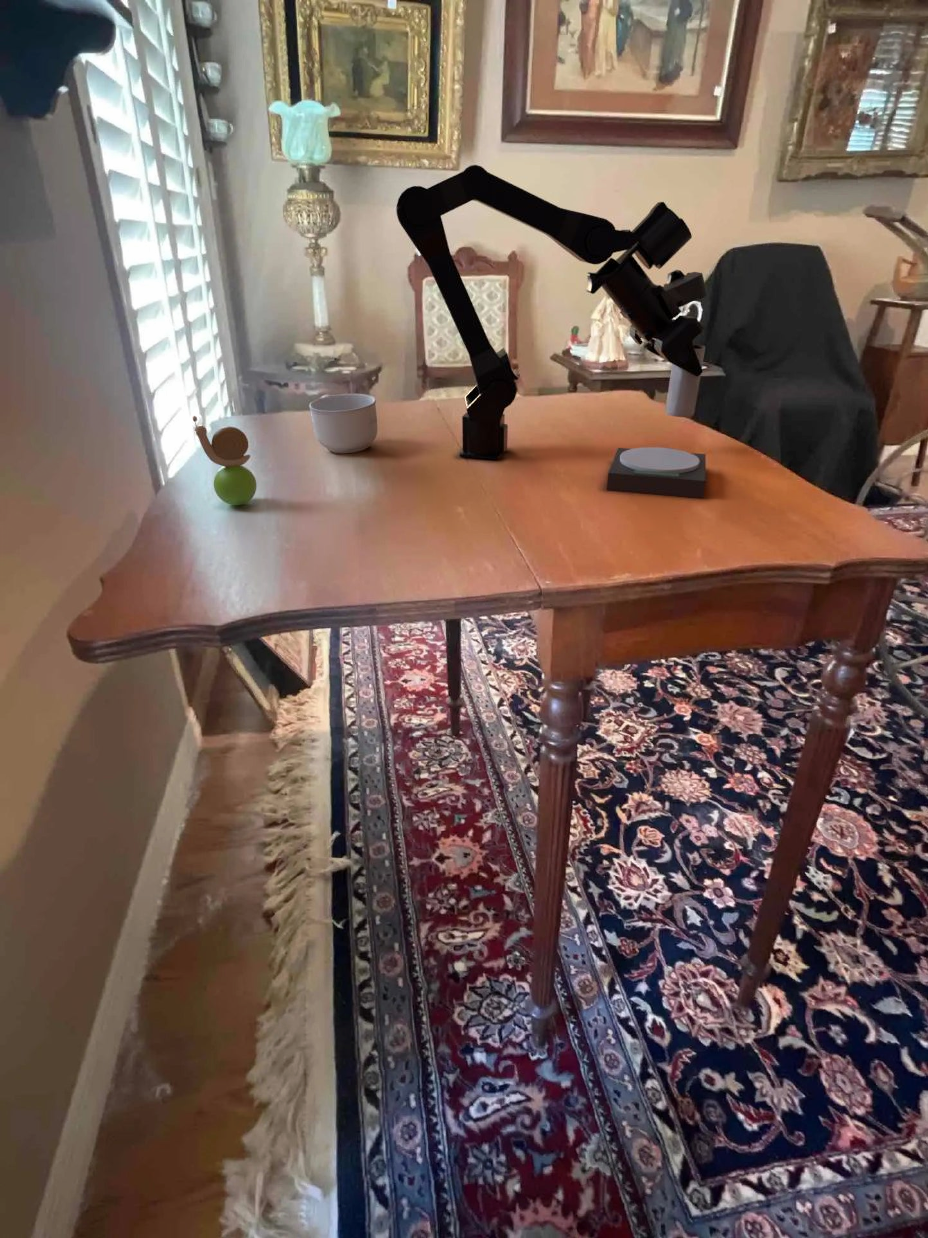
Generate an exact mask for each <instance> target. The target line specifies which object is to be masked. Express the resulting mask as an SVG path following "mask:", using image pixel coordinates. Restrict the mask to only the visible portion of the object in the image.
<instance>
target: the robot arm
mask: <svg viewBox="0 0 928 1238" xmlns="http://www.w3.org/2000/svg"><path fill="white" fill-rule="evenodd" d="M472 201H473V202H477V203H479V204H481V205H483V206H484V207H487V208H489V209H492V210H494V211H496V212H498V213H500V214H501V215H504V216H506V217H508V218H509V219H510V218H511V219H512V220H515V221H516V222H519V223H521V224H523V225H524V226H527V227H529V228H531V229H534V230H535V231H537V232H539V233H542V234H544V235H545V236H547V237H548V238H550V240H552V241H553V242H555V243H556V244H557V245H558V246H560V248H562V249H563V250H564V251H566V252H567V253H569V254H570V255H571V256H572V257H574V258H575V259H576V260H578V261H580V262H582V263H587V264H590V265H601V264H602V263H604V264H603V265H602V266H600V268H599V269H598V270H596V272H592V271H591V272H590V271H588V272H587V273H586V277H587V283H586V287H585V288H586V289H585V291H586V292H587V293H590V294H591V295H594V294H596V293H597V292H598V290H600V289H601V288H602V289H603V291H605V293H606V294H607V295H608V297H609V298H610V299H611V301H612V302H613V304H615V305H616V307H617V308H618V310H620V311H619V314H620V315H621V316H622V317H623V318H625V319H627V321H628V322H629V324H630V326H629V337H630V338H631V339H632V340H633V341H634V342H635V344H637V345H639V346H641V345H642V344H643V343H644V341H646V343H645V344H644V346H643V348H644V349H645V350H647V351H648V352H650V353H652V354H653V355H656V356H658V357H659V358H661V359H662V360H665V361H666V362H668V363H670V364H671V365H672V364H674V365H676V366H678V367H679V368H682V369H683V370H685V371H687V372H689V373H691V374H693V375H695V376H696V377H698V376H699V375H700V374H701V375H702V374H703V372H704V371H703V367H702V368H701V365H700V363H699V360H698V357H697V355H696V352H695V349H694V346H693V345H694V343H693V342H694V340H695V339H696V338H697V337H698V336H699V335H700V334H701V333H702V332H703V330H704V329H705V328H704V326H703V325H702V324H701V322H700V321H699V320H698V318H697V317H694V316H691V315H683V314H681V313H682V311H683V310H681V309H680V308H681V307H684V306H686V305H688V304H691V303H692V302H695V301H697V300H702V299H703V298H705V297H707V296H708V291H707V287H706V283H705V279H704V274H703V272H699V271H692V272H687V273H686V274H685V273H683V271H682V270H679V269H675V270H673V271H671V272H669V273H667V277H666V282H665V283H664V284H663V286H662V285H661V284H655V283H654V281H652V280H651V278H650V277H649V275H648V274H647V273H646V272H645V270H644V268H646V269H647V270H651V269H652V268H653V267H655V268H656V269H658V270H660V269H662V268H663V267H664V266H665V265H666V264H667V263H668V262H669V261H670V260H671V259H672V258H673V257H674V256H675V255H676V254H677V253H678V252H679V251H680V250H682V248H683V247H684V246H685V245H686V244H687V243H688V242H689V241H690V240H691V239H692V238H693V235H692V232H691V230H690V228H689V226H688V225H687V223H686V222H685V221H684V219H683V218H682V217H679V215H678V214H677V213H676V212H674V211H673V210H672V209H671V208H669V207H668V206H667V204H666V203H665V202H664V201H658V202H657V203H655V205H654V206H653V207H652V208H651V209H650V210H649V213H648V214H647V215H646V216H645V217H643V219H641V221H640V222H639V223H638V224H637V225H636V226H635V227H634V228H633V229H632V230H631V229H621V230H620V229H616V227H615V225H614V224H613V223H612V221H609V220H608V219H607V218H603V217H600V216H596V215H592V214H588V213H584V212H580V211H576V210H571V209H567V208H563V207H560V206H558V205H555V204H553V203H551V202H549V201H547V200H545V199H544V198H541V197H539V196H537V195H535V194H533V193H531V192H529V191H528V190H525V189H523V188H521V187H519V186H517V185H515V184H513V183H511V182H509V181H507V180H505V179H503V178H501V177H499V176H497V175H495V174H493V173H490V172H488V171H487V170H486V169H485V168H484V167H483V166H481V165H478V164H472V165H469V166H467V167H465V169H464V170H462V171H461V172H459V173H457V174H455V175H452V176H450V177H448V178H446V179H444V180H442V181H439V182H437V183H436V184H434V185H432V186H429V187H428V188H426V187H424V186H421V185H413V186H410V187H407V188H406V189H404V190H403V191H402V192H401V194H400V195H399V197H398V199H397V203H396V208H395V211H396V217H397V221H398V223H399V224H400V226H401V227H402V229H403V230H404V232H405V233H406V235H407V236H408V239H410V241H411V242H412V244H413V245H414V247H415V248H416V250H417V251H418V252H419V254H420V256H421V257H422V258H423V260H424V261H425V262H426V264H427V266H428V268H429V270H430V272H431V274H432V276H433V278H434V281H435V283H436V286H437V288H438V290H439V292H440V295H441V296H442V299H443V301H444V303H445V305H446V308H447V310H448V312H449V314H450V316H451V319H452V320H453V323H454V325H455V328H456V330H457V332H458V334H459V336H460V338H461V340H462V342H463V344H464V347H465V349H466V351H467V354H468V356H469V361H470V364H471V369H472V372H473V376H474V380H475V386H474V387H472V389H470V391H469V392H467V394H465V396H464V398H463V399H464V405H465V410H466V412H465V413H464V414H463V415H462V416H461V423H462V424H461V427H462V430H461V431H462V434H461V435H462V439H461V440H462V449H461V451H460V452H459V453H458V454H459V455H458V456H459V457H461V458H469V459H470V458H471V459H482V460H495V461H496V460H499V459H500V458H501V457H502V456H503V454H504V453H505V452H506V451H507V449H508V433H509V431H508V429H509V424H507V423H505V419H506V417H505V416H506V415H505V410H506V409H507V408H508V407H509V406H511V405H512V404H513V402H514V401H515V399H516V396H517V393H518V388H517V384H516V381H518V380H519V377H518V375H517V374H516V371H515V370H514V368H513V367H512V366H511V361H510V357H509V354H508V353H507V351H506V349H505V348H504V347H502V348H501V349H500V350H498V351H496V350H495V348H494V347H493V345H492V344H491V342H490V340H489V337H488V336H487V333H486V331H485V328H484V327H483V324H482V322H481V320H480V318H479V315H478V312H477V310H476V308H475V305H474V304H473V301H472V299H471V297H470V295H469V292H468V290H467V288H466V286H465V283H464V281H463V279H462V277H461V273H460V272H459V270H458V268H457V265H456V263H455V260H454V258H453V256H452V254H451V251H450V246H449V243H448V238H447V235H446V231H445V227H444V222H443V218H442V216H443V215H446V214H448V213H449V212H452V211H454V210H455V209H458V208H460V207H462V206H464V205H466V204H469V202H472ZM620 252H623V253H622V254H621V255H620V256H619V257H618V258H617V259H615V258H613V257H612V256H613V254H614V253H620ZM633 255H635V256H636V258H637V259H638V261H639V262H640V263H641V264H642V265H643V266H644V268H642V266H641V265H640V263H639V262H638V261H637V260H636V258H635V257H634V256H633ZM680 314H681V315H680ZM674 318H675V319H674ZM643 340H644V341H643Z"/></svg>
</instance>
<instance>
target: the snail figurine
mask: <svg viewBox="0 0 928 1238" xmlns="http://www.w3.org/2000/svg"><path fill="white" fill-rule="evenodd" d="M192 421H193V423H194V425H195V427H194V432H195V435H196V436H197V438H198V440H199V443H200V445H201V448H202V450H203V451H204V454H205V455H206V456H207V458H208V459H209V460H210V461H211V462H212V463H214V464H216V465H218V466H221V468H219V470H217V472H216V474H215V475H214V478H213V488H214V489H213V490H214V492H215V493H216V496H217V498H219V499H220V500H221V501H222V502H223V503H225V504H227V505H231V506H243V505H245V504H247V503H249V502H250V501H251V500H252V499H253V497H254V496H255V494H256V492H257V480H256V477H255V475H254V473H253V472H252V471H251V470H250V469H249V468H248V467H246V466H244V464H246V463H247V462H249V459H250V458H251V454H246V453H247V452H248V449H249V440H248V437H247V435H246V434H245V432H243V431H242V429H239V428H238V427H234V426H223V427H220V428H219V429H217V430H216V431H215V432H214V434H213V435H212V438H211V441H210V440H209V437H208V431H207V428H206V427H205V426H204V425H202V424H199V425H197V423H196V422H198V417H197V416H196V415H193V416H192Z"/></svg>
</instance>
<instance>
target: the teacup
mask: <svg viewBox="0 0 928 1238" xmlns="http://www.w3.org/2000/svg"><path fill="white" fill-rule="evenodd" d="M376 403H377V400H376V398H375V396H372V395H370V394H365V393H340V394H333V395H330V394H323V395H321V397H319V398H317V399H314V400H313V401H311V402H310V403H309V406H308V407H309V411H310V415H311V421H312V426H313V430H314V435H315V438H316V440H317V442H318V443H319V444H320V445H321V446H322V447H324V448H325V449H327V450H328V451H330V452H332V453H335V454H353V453H358V452H362V451H363V450H364V451H365V450H366V449H367V448H368V447H369V446H370V445H371V443H373V442H374V441H375V439H376V438H377V435H378V416H377V406H376Z"/></svg>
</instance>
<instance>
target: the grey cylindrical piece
mask: <svg viewBox="0 0 928 1238" xmlns="http://www.w3.org/2000/svg"><path fill="white" fill-rule="evenodd" d="M693 346H694V349H695V352H696V355H697V357H698V360H699V363H700V365H701V368H702V369H703V365H704V359H705V358H704V357H705V353H706V346H705V345H701V344H693ZM701 375H702V374H700V375H699V376H698V377H696V376H695V375H693V374H691V373H689V372H687V371H685V370H683V369H682V368H679V367H678V366H676V365H674V364H672V363H671V372H670V375H669V376H670V377H669V382H668V388H667V389H668V391H667V397H666V404H665V411H664V413H665V415H668V416H670V417H675V418H689V417H693V416H694V415H695V411H696V405H697V400H698V394H699V388H700V383H701Z"/></svg>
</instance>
